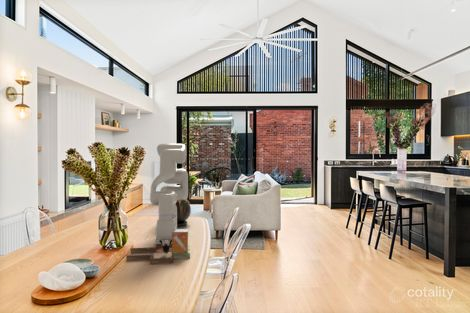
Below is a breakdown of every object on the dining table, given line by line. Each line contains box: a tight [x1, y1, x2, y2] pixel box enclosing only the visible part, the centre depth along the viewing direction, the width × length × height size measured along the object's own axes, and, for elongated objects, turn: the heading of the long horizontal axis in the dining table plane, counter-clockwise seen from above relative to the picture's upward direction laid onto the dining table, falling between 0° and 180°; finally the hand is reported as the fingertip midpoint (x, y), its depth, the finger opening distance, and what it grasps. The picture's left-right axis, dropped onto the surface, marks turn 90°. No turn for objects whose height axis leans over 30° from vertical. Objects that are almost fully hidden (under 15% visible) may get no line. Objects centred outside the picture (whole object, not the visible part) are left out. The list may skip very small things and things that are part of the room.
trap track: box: [125, 242, 191, 265], centre depth 173 cm, size 26×31×2 cm
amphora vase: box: [176, 198, 192, 228], centre depth 243 cm, size 22×22×28 cm
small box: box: [171, 228, 189, 254], centre depth 173 cm, size 8×6×13 cm
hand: (166, 252), depth 173 cm, fingers closed
